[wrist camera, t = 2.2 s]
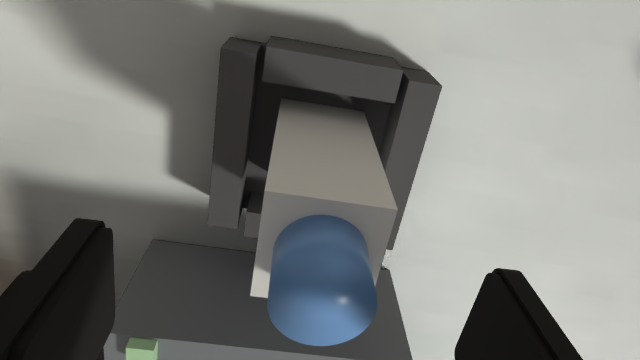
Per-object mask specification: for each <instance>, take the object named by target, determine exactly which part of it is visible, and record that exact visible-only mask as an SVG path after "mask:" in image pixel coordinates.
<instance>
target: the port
mask: <svg viewBox="0 0 640 360" xmlns="http://www.w3.org/2000/svg"><path fill="white" fill-rule="evenodd" d="M255 256H256V253H252V252H245V251H237V250H229V249H221V248H214V247H206V246H198V245H190V244H182V243H175V242H167V241H159V240H152V242H151V243H150V245H149V247H148V249H147V251H146V253H145V255H144V257H143V258H142V260H141V262H140V264H139V266H138V268H137V270H136V271H135V273H134V275H133V277H132V279H131V281H130V283H129V284H128V286H127V288H126V290H125V292H124V294H123V296H122V298H121V299H120V301H119V303H118V305H117V307H116V309H115V321H114V325H113V328H112V330H111V333H110V335H109V337H108V339H107V341H106V343H105V345H104V360H412V356H411V352H410V348H409V344H408V340H407V337H406V333H405V329H404V325H403V321H402V317H401V313H400V309H399V305H398V301H397V297H396V293H395V289H394V286H393V282H392V278H391V274H390V270H385V269H380V272H379V275H378V278H377V282H376V285H375V289H376V294H377V301H378V303H377V311H376V314H375V317H374V319H373V320H372V322H371V324H370V325H369V326H368V327H367V328H366V329H365V330H364V331H363V332H362V333H361V334H359V335H358V336H356V337H355V338H353V339H351V340H348V341H346V342H343V343H340V344H336V345H330V346H312V345H306V344H302V343H299V342H296V341H294V340H292V339H290V338H288V337H286V336H285V335H283V334H282V333H281V332H280V331H279V330H278V329H277V328H276V327H275V326H274V324H273V323H272V321H271V319H270V317H269V314H268V310H267V299H268V298H263V297H255V296H250V293H251V285H252V278H253V271H254V264H255Z"/></svg>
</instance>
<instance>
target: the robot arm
mask: <svg viewBox="0 0 640 360" xmlns="http://www.w3.org/2000/svg"><path fill="white" fill-rule="evenodd" d="M114 321H115V288H114V258H113V233H112V229H111V228H105V224H104V222H103V221H98V220H90V219H81V218H77V219H75V220H74V221H73V222H72V223H71V224H70V225H69V227H68V228H67V229H66V230H65V231H64V233H63V234H62V235H61V236H60V237H59V239H58V240H57V241H56V242H55V243H54V245H53V246H52V247H51V248H50V249H49V251H48V252H47V253H46V254H45V255H44V257H43V258H42V259H41V260H40V261H39V263H38V264H37V265H36V266H35V267H34V269H33V270H32V271H24V272H22V273H21V274H20V275H19V276H17V277H16V279H15V280H14V281H13V282H12V283H11V284H10V286H9V287H8V288H7V289H6V290H5V291H4V292H3V294H2V295H1V296H0V360H97V359H98V357H99V355H100V353H101V351H102V349H103V347H104V345H105V343H106V341H107V339H108V337H109V335H110V333H111V330H112V328H113V325H114ZM455 360H583V359H582V358H581V356H580V355H579V354H578V352H577V351H576V349H575V348H574V346H573V345H572V344H571V342H570V341H569V339H568V338H567V337H566V335H565V334H564V332H563V331H562V329H561V328H560V327H559V325H558V324H557V322H556V321H555V319H554V318H553V317H552V315H551V314H550V312H549V311H548V310H547V308H546V307H545V305H544V304H543V302H542V301H541V300H540V298H539V297H538V295H537V294H536V292H535V291H534V290H533V288H532V287H531V285H530V284H529V283H528V281H527V280H526V278H525V277H524V275H523V274H522V273H521V272H520V271H517V270H509V269H500V268H497V269H495V270H494V271H493V272H492V273H488V274H487V275H486V277H485V279H484V281H483V283H482V286H481V288H480V291H479V293H478V295H477V298H476V300H475V302H474V305H473V307H472V309H471V312H470V314H469V316H468V319H467V321H466V323H465V326H464V328H463V331H462V333H461V335H460V338H459V340H458V342H457V345H456V347H455Z"/></svg>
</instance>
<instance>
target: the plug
mask: <svg viewBox="0 0 640 360" xmlns="http://www.w3.org/2000/svg"><path fill="white" fill-rule="evenodd" d="M397 211H398V209H397V206H396V203H395V200H394V197H393V194H392V191H391V188H390V186H389V183H388V180H387V177H386V174H385V171H384V168H383V165H382V162H381V160H380V157H379V154H378V151H377V148H376V145H375V142H374V139H373V136H372V133H371V131H370V128H369V125H368V122H367V119H366V116H365V113H364V112H363V111H357V110H351V109H345V108H338V107H332V106H326V105H320V104H314V103H308V102H302V101H296V100H290V99H284V98H281V102H280V108H279V113H278V119H277V124H276V130H275V135H274V141H273V147H272V152H271V158H270V163H269V169H268V174H267V180H266V185H265V191H264V198H263V205H262V213H261V220H260V227H259V235H258V242H257V249H256V256H255V264H254V271H253V278H252V285H251V293H250V296H255V297H263V298H268V299H267V310H268V314H269V317H270V319H271V321H272V323H273V324H274V326H275V327H276V328H277V329H278V330H279V331H280V332H281V333H282V334H283V335H285V336H286V337H288V338H290V339H292V340H294V341H296V342H299V343H302V344H306V345H312V346H330V345H336V344H340V343H343V342H346V341H348V340H351V339H353V338H355V337H356V336H358V335H359V334H361V333H362V332H363V331H364V330H365V329H366V328H367V327H368V326H369V325H370V324H371V322H372V320H373V319H374V317H375V314H376V311H377V303H378V301H377V294H376V289H375V285H376V282H377V278H378V275H379V272H380V268H381V265H382V262H383V258H384V255H385V251H386V248H387V245H388V241H389V238H390V235H391V231H392V228H393V224H394V221H395V218H396V214H397Z"/></svg>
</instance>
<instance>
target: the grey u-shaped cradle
mask: <svg viewBox="0 0 640 360" xmlns="http://www.w3.org/2000/svg"><path fill="white" fill-rule="evenodd" d="M441 88H442V85H441V84H440V83H439V82H438V81H437V80H436V79H435V78H434V77H433V76H432V75H431V74H430V73H429V72H426V71H421V70H415V69H409V68H404V67H400V66H399V64H398V63H397V62H396V61H395V59H394V58H392V57H387V56H381V55H375V54H370V53H364V52H359V51H353V50H347V49H342V48H336V47H330V46H325V45H319V44H314V43H308V42H302V41H297V40H291V39H285V38H280V37H274V36H271V37H270V39H269V42H268V44H267V43H261V42H256V41H250V40H244V39H239V38H233V37H230V38H229V39H228V40H227V42H226V43H225V44H224V45H223V46H222V47H221V53H220V66H219V80H218V93H217V106H216V119H215V133H214V146H213V159H212V173H211V186H210V199H209V213H208V226H215V227H222V228H230V229H237V227H238V223H239V219H240V215H241V212H242V208H246V209H247V212H246V220H245V229H244V237H252V238H258V235H259V227H260V220H261V213H262V205H263V198H264V191H265V185H266V180H267V174H268V169H269V163H270V158H271V152H272V147H273V141H274V135H275V130H276V124H277V119H278V113H279V108H280V102H281V98H284V99H290V100H296V101H302V102H308V103H314V104H320V105H326V106H332V107H338V108H345V109H351V110H357V111H363V112H364V113H365V116H366V119H367V122H368V125H369V128H370V131H371V133H372V136H373V139H374V142H375V145H376V148H377V151H378V154H379V157H380V160H381V162H382V165H383V168H384V171H385V174H386V177H387V180H388V183H389V186H390V188H391V191H392V194H393V197H394V200H395V203H396V206H397V209H398V211H397V214H396V218H395V221H394V224H393V228H392V231H391V235H390V238H389V241H388V245H387V248H386V249H388V250H392V249H393V246H394V243H395V239H396V236H397V233H398V230H399V226H400V223H401V220H402V216H403V213H404V210H405V207H406V203H407V200H408V197H409V193H410V190H411V187H412V184H413V180H414V177H415V174H416V170H417V167H418V164H419V161H420V157H421V154H422V151H423V147H424V144H425V141H426V138H427V134H428V131H429V128H430V124H431V121H432V118H433V115H434V111H435V108H436V105H437V101H438V98H439V95H440V92H441Z"/></svg>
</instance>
